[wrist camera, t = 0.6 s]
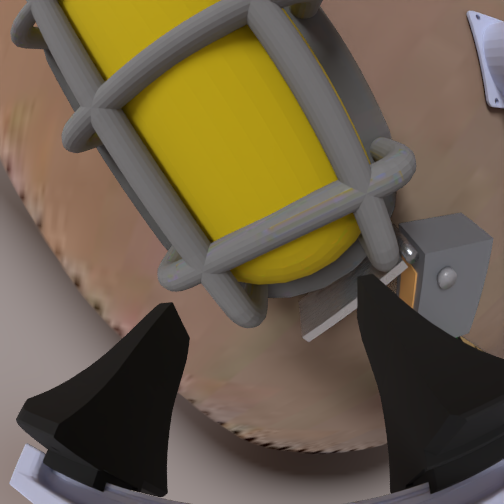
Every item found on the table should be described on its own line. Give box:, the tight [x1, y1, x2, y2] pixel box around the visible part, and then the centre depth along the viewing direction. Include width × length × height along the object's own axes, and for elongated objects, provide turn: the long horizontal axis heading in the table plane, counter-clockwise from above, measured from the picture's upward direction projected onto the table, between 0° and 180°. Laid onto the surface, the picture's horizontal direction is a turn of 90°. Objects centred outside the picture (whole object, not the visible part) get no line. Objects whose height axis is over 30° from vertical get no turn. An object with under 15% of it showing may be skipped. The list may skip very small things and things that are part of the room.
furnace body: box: [396, 213, 493, 338], centre depth 18 cm, size 6×10×5 cm, turn 13°
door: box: [299, 224, 419, 342], centre depth 19 cm, size 1×10×4 cm, turn 139°
